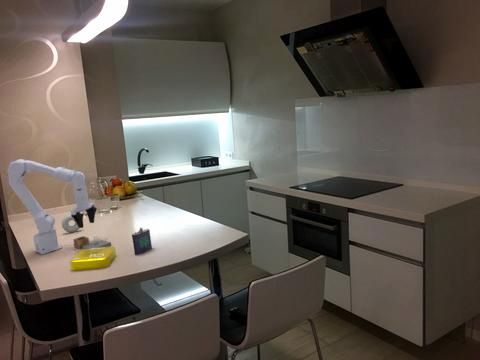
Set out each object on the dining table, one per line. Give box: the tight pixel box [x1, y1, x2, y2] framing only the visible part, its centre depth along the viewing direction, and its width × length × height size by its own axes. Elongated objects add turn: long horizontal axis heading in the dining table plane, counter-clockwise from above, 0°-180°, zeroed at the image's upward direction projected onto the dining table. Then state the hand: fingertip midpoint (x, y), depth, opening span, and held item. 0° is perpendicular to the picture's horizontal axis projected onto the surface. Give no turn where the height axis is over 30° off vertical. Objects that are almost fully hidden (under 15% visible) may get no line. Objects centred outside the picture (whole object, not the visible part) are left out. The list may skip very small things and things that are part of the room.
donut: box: [61, 213, 80, 234], centre depth 217 cm, size 10×4×10 cm, turn 121°
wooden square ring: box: [72, 235, 90, 250], centre depth 192 cm, size 5×5×4 cm
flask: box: [131, 227, 153, 256], centre depth 178 cm, size 9×3×11 cm, turn 144°
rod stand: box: [81, 234, 112, 250], centre depth 188 cm, size 10×8×6 cm
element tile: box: [69, 246, 117, 272], centre depth 169 cm, size 15×15×5 cm
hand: (86, 225), depth 195 cm, fingers open, 7 cm apart
